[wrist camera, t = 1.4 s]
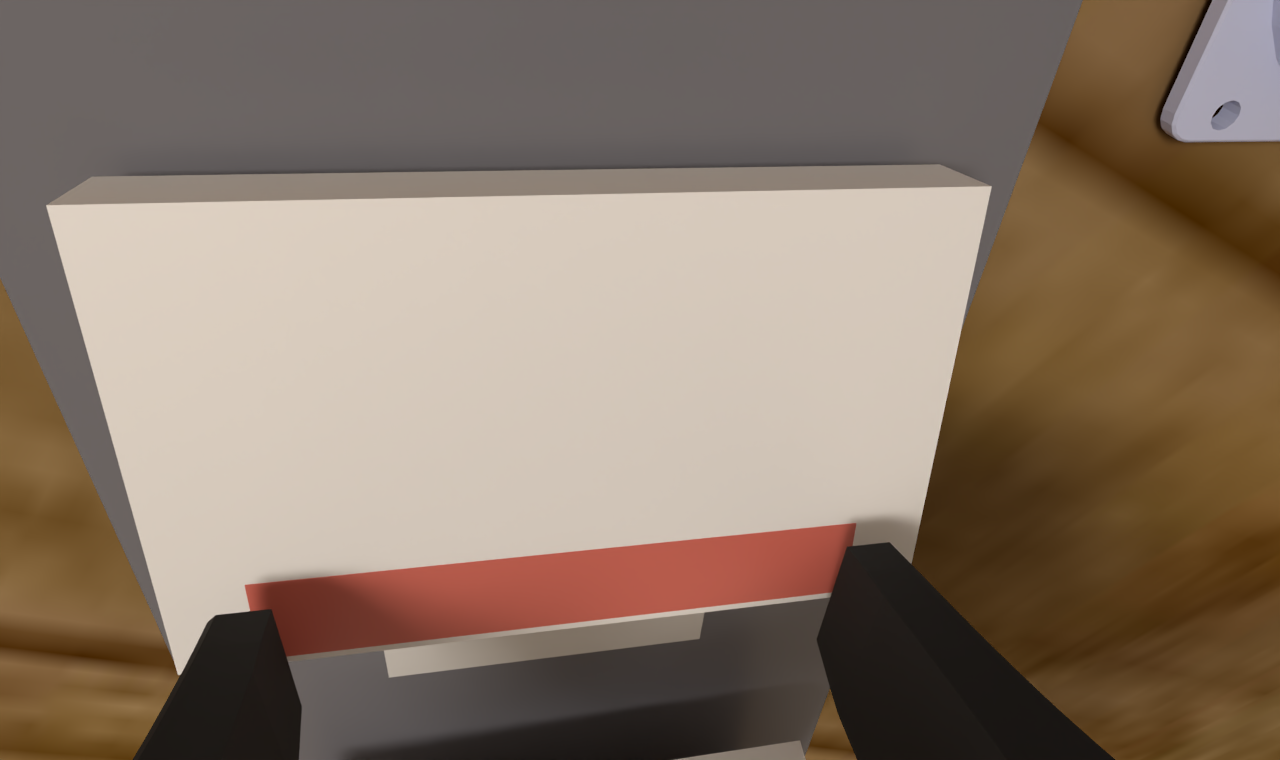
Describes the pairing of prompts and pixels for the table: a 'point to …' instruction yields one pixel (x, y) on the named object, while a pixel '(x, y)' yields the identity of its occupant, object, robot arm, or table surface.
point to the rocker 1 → (516, 387)
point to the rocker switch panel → (506, 141)
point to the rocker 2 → (759, 753)
